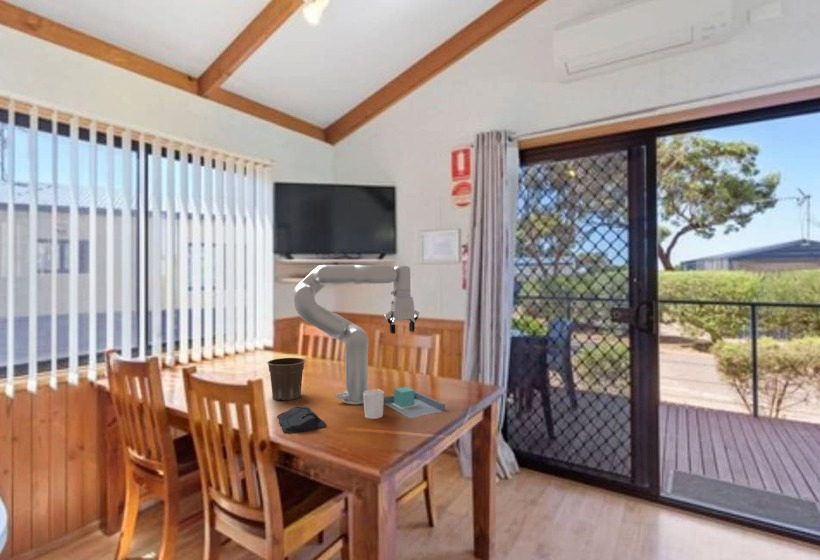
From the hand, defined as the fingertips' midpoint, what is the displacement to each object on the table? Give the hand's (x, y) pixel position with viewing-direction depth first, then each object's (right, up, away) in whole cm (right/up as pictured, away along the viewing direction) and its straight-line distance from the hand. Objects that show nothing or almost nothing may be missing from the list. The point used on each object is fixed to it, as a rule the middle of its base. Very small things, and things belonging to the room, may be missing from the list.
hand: (402, 332), depth 198 cm
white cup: (-10, -30, -28) cm, 42 cm away
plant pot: (-51, -29, +1) cm, 59 cm away
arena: (+4, -29, -18) cm, 34 cm away
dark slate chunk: (-38, -31, -31) cm, 57 cm away
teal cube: (+1, -28, -15) cm, 31 cm away
